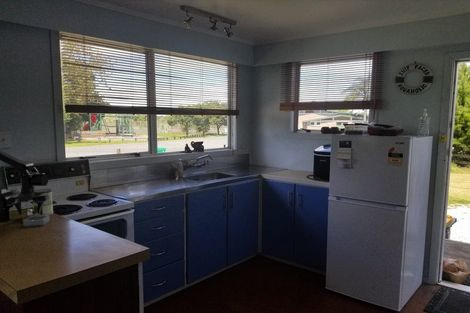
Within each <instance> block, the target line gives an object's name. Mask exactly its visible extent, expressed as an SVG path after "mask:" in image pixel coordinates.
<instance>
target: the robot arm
mask: <svg viewBox="0 0 470 313" xmlns="http://www.w3.org/2000/svg"><path fill="white" fill-rule="evenodd" d="M0 161H1V162H3V163H5V164H7V165H8V166H11V167H13V169H14V170H15V171H16V172H18V175H17V176H16V178H17V179H20V186H21V188H20V193H19V194H18V195H14V193H13V191H12V190H10V191H9V190H7V189H6V187H5V185H4V183H3V181H2V180H1V178H0V221H1V222H10V220H12V219H14V217H13V216H11V208H16V210H17V213H18V214H19V216H21V215H22V213H23V212H22V203H23V202H25V203H28V202H30V201H33V200H38V202H37V204H38V214H39V213H40V210H41V207H42V205H43V203H44V202H45V201H46V200H48V199H49V196H48V194H42V195H39V196H35V194H34V190H35V187H46V186H47V185H48V184H49V178H48V176H47V175H46V173H45V172H44V173H40V172H39V170H38V169H37V168H36V167H35V165H34V163H33V162H30V161H27V160H21V159H18V158H16V157H14V156H12V155H11V154H8V153H7V152H4V151H2V149H0Z"/></svg>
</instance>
